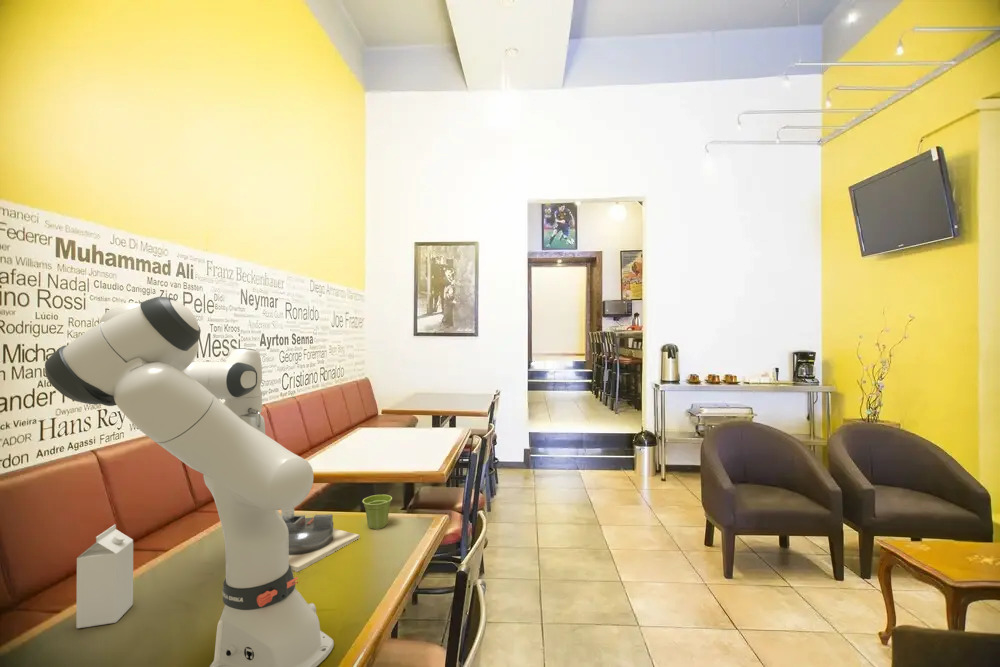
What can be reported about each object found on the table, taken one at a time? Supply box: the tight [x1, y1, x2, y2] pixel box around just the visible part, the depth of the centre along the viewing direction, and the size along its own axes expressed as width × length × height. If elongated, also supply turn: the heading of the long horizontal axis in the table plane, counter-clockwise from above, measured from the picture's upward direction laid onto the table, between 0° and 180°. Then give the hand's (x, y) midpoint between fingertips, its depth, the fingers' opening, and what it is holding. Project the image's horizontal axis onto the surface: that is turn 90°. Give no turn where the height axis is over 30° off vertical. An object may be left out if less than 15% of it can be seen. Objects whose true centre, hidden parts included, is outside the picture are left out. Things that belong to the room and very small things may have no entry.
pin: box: [281, 507, 295, 523], centre depth 131 cm, size 3×3×8 cm
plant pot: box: [361, 494, 393, 530], centre depth 146 cm, size 9×9×9 cm
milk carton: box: [75, 523, 134, 629], centre depth 99 cm, size 7×7×19 cm
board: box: [289, 527, 361, 573], centre depth 131 cm, size 22×22×1 cm
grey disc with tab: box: [286, 513, 334, 554], centre depth 132 cm, size 16×16×8 cm
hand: (243, 457), depth 122 cm, fingers open, 8 cm apart
